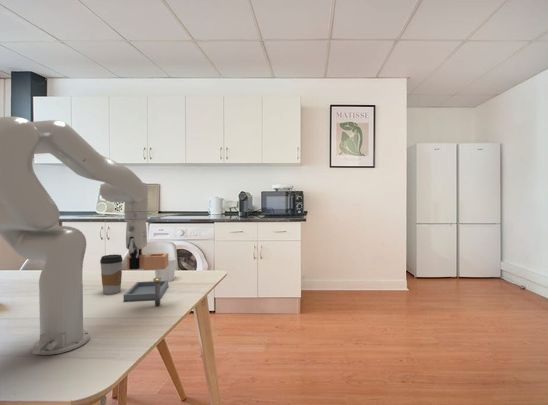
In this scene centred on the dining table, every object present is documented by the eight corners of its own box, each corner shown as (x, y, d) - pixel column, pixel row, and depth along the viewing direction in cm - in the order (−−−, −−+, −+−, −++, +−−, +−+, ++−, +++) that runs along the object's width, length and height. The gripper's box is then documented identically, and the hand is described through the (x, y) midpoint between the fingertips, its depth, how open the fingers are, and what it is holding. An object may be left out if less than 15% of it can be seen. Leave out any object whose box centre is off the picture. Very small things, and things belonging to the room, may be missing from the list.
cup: (148, 281, 141) (148, 260, 141) (163, 276, 150) (162, 256, 150) (166, 283, 138) (166, 261, 138) (180, 278, 147) (180, 257, 147)
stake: (160, 306, 109) (160, 279, 109) (153, 306, 109) (152, 279, 108) (162, 303, 112) (161, 277, 111) (154, 304, 111) (154, 277, 111)
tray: (159, 299, 116) (159, 293, 116) (123, 301, 114) (123, 295, 114) (168, 286, 134) (168, 280, 134) (137, 287, 132) (137, 281, 132)
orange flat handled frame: (164, 269, 106) (164, 256, 106) (125, 270, 104) (125, 257, 104) (168, 265, 113) (168, 253, 113) (131, 266, 111) (131, 254, 111)
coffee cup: (113, 296, 120) (113, 258, 120) (95, 294, 122) (94, 257, 122) (127, 289, 129) (127, 254, 128) (110, 288, 130) (110, 253, 130)
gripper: (141, 217, 101) (140, 272, 101) (152, 215, 117) (152, 263, 117) (116, 217, 100) (116, 273, 100) (131, 215, 116) (131, 263, 116)
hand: (136, 267), depth 108 cm, fingers closed on orange flat handled frame, 3 cm apart
